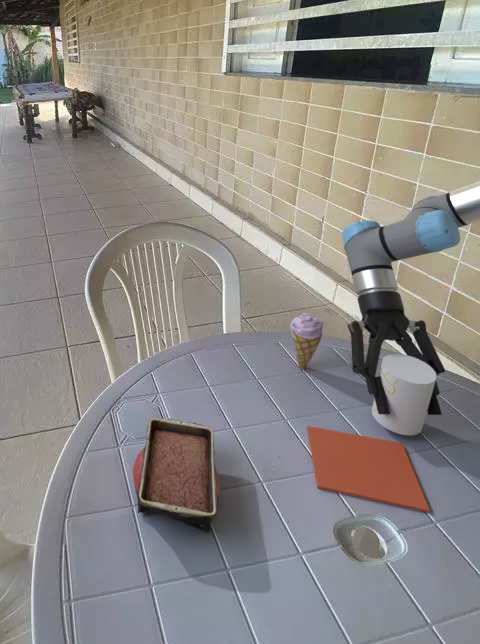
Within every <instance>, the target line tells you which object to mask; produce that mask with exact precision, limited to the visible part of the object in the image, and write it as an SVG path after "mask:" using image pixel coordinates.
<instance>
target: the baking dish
mask: <svg viewBox="0 0 480 644" xmlns="http://www.w3.org/2000/svg"><path fill="white" fill-rule="evenodd" d="M215 451H216V450H215V435H214V431H213V430H212V429H211V428H210V427H207V426H206V425H203V424H199V423H196V422H189V421H184V420H178V419H172V418H156V417H154V418H150V419H149V420H148V421H147V426H146V437H145V444H144V448H142V450H140V452H139V453H138V454H137V456H136V458H135V460H134V463H133V468H132V477H133V483H134V488H135V493H136V498H137V514H140V513H144V512H148V511H153V512H154V513H155V512H156V513H158V514H160V515H163V516H165V517H168V518H170V519H172V520H175V521H177V522H180V523H182V524H185V525H187V526H190V527H192V528H195V529H197V530H200V531H203V532H205V533H211V530H210V529H211V523H212V518H213V516H215V515H216V514H217V512H218V510H219V508H218V506H219V498H220V492H221V480H220V476H219V473H218V470H217V469H216V460H215V459H216V457H215V456H216V452H215Z"/></svg>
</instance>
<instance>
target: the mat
mask: <svg viewBox="0 0 480 644" xmlns="http://www.w3.org/2000/svg"><path fill="white" fill-rule="evenodd" d="M306 431H307V438H308V443H309V449H310V454H311V460H312V466H313V471H314V472H313V473H314V477H315V484H316V488H317V489H320V490H324V491H329V492H332V493H338V494H342V495H346V496H351V497H355V498H360V499H365V500H370V501H373V502H378V503H383V504H387V505H392V506H396V507H401V508H406V509H410V510H414V511H418V512H423V513H429V514H430V512H431V510H430V507H429V505H428V502H427V500H426V497H425V495H424V492H423V490H422V488H421V485H420V483H419V480H418V478H417V476H416V473H415V471H414V469H413V466H412V464H411V461H410V459H409V457H408V454H407V451H406V449H405V447H404V445H403V443H402V442H398V441H392V440H387V439H381V438H376V437H371V436H366V435H365V436H364V435H359V434H354V433H349V432H342V431H337V430H333V429H328V428H327V429H326V428H322V427H317V426H311V425H306Z"/></svg>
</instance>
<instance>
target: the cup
mask: <svg viewBox="0 0 480 644" xmlns="http://www.w3.org/2000/svg"><path fill="white" fill-rule="evenodd" d="M378 377H381V380H382V384H383V387H384V391H385V395H386V399H387V403H388V407H389V411H390V414H378V410H377V406H376V402H375V398H373V403H372V407H371V413H372V416H373V418H374V419H375V421H376V422H377V423H378V424H379V425H380V426H382V427H383V428H385V429H386V430H389V431H390V432H393V433H396V434H398V435H401V436H416V435H419V434H421V432H422V431H423V427H424V424H425V420H426V417H427V415H428V411H427V410H428V406H429V403H430V399H431V396H432V392H433V388H434V385H435V381H436V382H437V377H438V376H436V373H435V371H434V370H433V368H432V367H430V366H429V365H428V364H426V363H425V362H423V361H421V360H419V359H417V358H414V357H411V356H408V355H407V354H402V353H392V354H387V355H385V356H384V357H383V358H382V360H381V365H380V370H379V375H378Z"/></svg>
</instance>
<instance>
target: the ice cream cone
mask: <svg viewBox="0 0 480 644" xmlns="http://www.w3.org/2000/svg"><path fill="white" fill-rule="evenodd" d="M323 327H324V320H323V319H319V317H317V316H316V315H314V314H312V313H308V312H306V311H304V312H303V313H302V314H300V315H299V316H295V317H294V318H293V319H292V320H291V322H290V324H289V329H290V332H291V338H292V339H293V344H294V350H295V356H296V360H297V364H298V368H299V369H300V370H306V368H307V367H308V365H309V363H310V362H311V360H312V359H313V356H314V354H315V353H316V351H317V348H318V347H319V344H320V341H321V339H322V337H323Z"/></svg>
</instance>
